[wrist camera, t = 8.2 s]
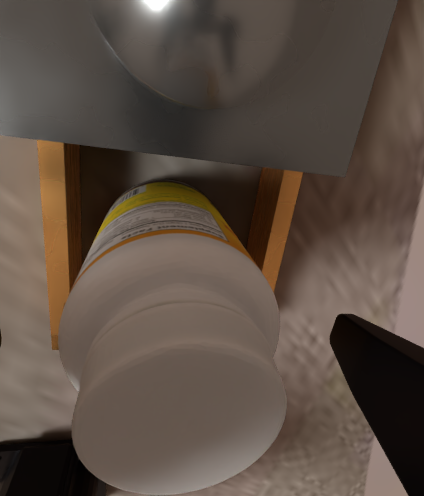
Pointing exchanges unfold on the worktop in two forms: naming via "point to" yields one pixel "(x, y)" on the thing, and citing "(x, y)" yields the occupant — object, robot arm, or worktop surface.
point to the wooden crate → (187, 98)
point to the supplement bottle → (171, 347)
